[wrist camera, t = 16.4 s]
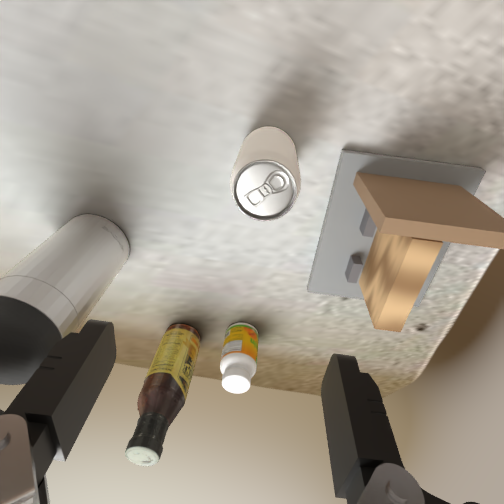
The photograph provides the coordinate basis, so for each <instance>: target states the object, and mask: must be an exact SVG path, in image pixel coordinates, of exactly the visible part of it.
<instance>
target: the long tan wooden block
mask: <svg viewBox="0 0 504 504" xmlns="http://www.w3.org/2000/svg"><path fill="white" fill-rule="evenodd" d="M442 245H443V242H442V241H438V240H430V239H422V238H415V237H407V236H400V235H392V234H384V233H380V232H379V230H378V229H377V231H376V234H375V236H374V239H373V242H372V245H371V248H370V251H369V253H368V256H367V259H366V262H365V265H364V268H363V271H362V273H361V276H360V279H359V285H360V288H361V291H362V294H363V297H364V299H365V302H366V305H367V308H368V311H369V314H370V317H371V320H372V323H373V325H374V328H375V329H381V330H388V331H396V332H401V330H402V328H403V326H404V324H405V321H406V319H407V317H408V315H409V313H410V311H411V309H412V307H413V305H414V303H415V301H416V299H417V297H418V294H419V292H420V290H421V288H422V286H423V284H424V282H425V280H426V278H427V276H428V274H429V272H430V270H431V268H432V265H433V263H434V261H435V259H436V257H437V255H438V253H439V251H440V249H441V247H442Z"/></svg>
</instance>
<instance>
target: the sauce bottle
mask: <svg viewBox="0 0 504 504" xmlns="http://www.w3.org/2000/svg"><path fill="white" fill-rule="evenodd" d="M199 348H200V336H199V334H198V332H197V330H196V329H195V328H193V327H191V326H189V325H185V324H175V325H172V326H170V327H169V328H168V329H167V331H166V332H165V334H164V335H163V337H162V340H161V342H160V345H159V347H158V349H157V352H156V354H155V356H154V359H153V361H152V364H151V366H150V369H149V371H148V373H147V376H146V378H145V381H144V385H143V388H142V390H141V392H140V394H139V398H138V410H139V414H140V418H139V419H138V423H137V427H136V429H135V432H134V435H133V437H132V438H131V440H130V441H129V443H128V446H127V448H126V451H125V453H126V457H127V459H128V460H129V461H131V462H133V463H134V464H137V465H141V466H151V465H154V464H156V463H157V462H158V461H159V459H160V456H161V453H162V450H163V447H162V444H163V442H164V439H165V435H166V432H167V430H168V427H169V426H170V424H171V423H172V422H173V420H174V419H175V417H176V416H177V414H178V413H179V411H180V410H181V408H182V407H183V406H184V404H185V400H186V397H187V393H188V389H189V385H190V382H191V378H192V374H193V371H194V367H195V363H196V359H197V356H198V352H199Z"/></svg>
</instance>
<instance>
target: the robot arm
mask: <svg viewBox="0 0 504 504" xmlns="http://www.w3.org/2000/svg"><path fill="white" fill-rule="evenodd" d="M129 251H130V248H129V243H128V241H127V238H126V236H125V235H124V233H123V232H122V231H121V230H120V229H119V228H118V226H116V225H115V224H114V223H112V222H111V221H109V220H107V219H106V218H103V217H100V216H97V215H91V214H84V215H79V216H76V217H74V218H73V219H71V220H70V221H69V222H67V223H66V224H65V225H64V226H63V227H61V228H60V229H59V230H58V231H57V232H55V233H54V234H53V235H52V236H50V237H49V238H48V239H47V240H46V241H44V242H43V243H42V244H41V245H40V246H38V247H37V248H36V249H35V250H34V251H32V252H31V253H30V254H29V255H27V256H26V257H25V258H24V259H23V260H21V261H20V262H19V263H18V264H17V265H15V266H14V267H13V268H12V269H11V270H9V271H8V272H7V273H6V274H5V275H3V276H2V277H1V278H0V384H5V385H18V384H19V385H20V384H26V385H25V386H24V387H23V388H22V390H21V391H20V392H19V394H18V395H17V396H16V398H15V399H14V400H13V402H12V403H11V405H10V406H9V407H8V408H7V410H6V411H5V412H4V411H2V410H0V504H50V501H49V493H48V487H47V480H46V474H45V473H46V471H47V470H48V468H49V466H50V464H51V462H52V460H58V461H66V459H67V457H68V455H69V453H70V451H71V449H72V447H73V445H74V443H75V441H76V439H77V437H78V435H79V433H80V431H81V429H82V427H83V425H84V423H85V421H86V419H87V418H88V415H89V414H90V412H91V409H92V408H93V406H94V404H95V402H96V400H97V398H98V396H99V394H100V392H101V390H102V388H103V386H104V384H105V382H106V380H107V378H108V376H109V374H110V372H111V370H112V368H113V366H114V363H115V359H116V344H115V335H114V326H113V323H112V322H106V321H99V320H89V321H87V323H86V324H85V325H84V327H83V328H82V330H81V331H80V333H76V332H77V330H78V329H79V327H80V326H81V325H82V323H83V322H84V320H85V319H86V318H87V316H88V315H89V313H90V312H91V311H92V309H93V308H94V306H95V305H96V303H97V302H98V301H99V299H100V298H101V296H102V295H103V294H104V292H105V291H106V289H107V288H108V287H109V285H110V284H111V282H112V281H113V280H114V278H115V277H116V275H117V274H118V273H119V271H120V270H121V268H122V267H123V265H124V264H125V263H126V261H127V260H128V257H129ZM321 397H322V405H323V411H324V419H325V426H326V433H327V440H328V447H329V455H330V461H331V469H332V475H333V483H334V490H335V497H338V498H346V499H347V504H450V503H448V502H446V501H444V500H441V499H439V498H437V497H435V496H433V495H431V494H429V493H428V492H426V491H425V490H423V489H422V488H421V487H420V486H419V484H418V482H417V481H416V480H415V478H414V477H413V476H412V475H411V474H410V473H409V472H408V471H406V470H405V468H404V466H403V463H402V461H401V458H400V455H399V451H398V448H397V445H396V442H395V439H394V435H393V432H392V429H391V426H390V423H389V420H388V417H387V416H386V410H385V407H384V404H383V403H382V402H383V401H382V397H381V394H380V391H379V388H378V386H377V385H376V383H375V382H374V380H373V379H372V378H371V376H370V375H369V374H368V373H361V372H360V370H359V367H358V363H357V360H356V358H355V357H354V356H348V355H341V354H333V355H332V357H331V359H330V362H329V365H328V367H327V370H326V373H325V375H324V378H323V381H322V387H321ZM464 504H478V503H475V502H466V503H464Z"/></svg>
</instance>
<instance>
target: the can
mask: <svg viewBox="0 0 504 504" xmlns="http://www.w3.org/2000/svg"><path fill="white" fill-rule="evenodd" d="M300 187H301V178H300V171H299V165H298V159H297V154H296V149H295V145H294V143H293V141H292V139H291V138H290V137H289V136H288V135H287V134H286V133H285V132H284V131H283V130H281V129H279V128H276V127H271V126H266V127H261V128H258V129H256V130H254V131H252V132H251V133H250V134H249V135H248V136H247V137H246V138H245V140H244V142H243V144H242V146H241V148H240V151H239V154H238V156H237V159H236V162H235V164H234V167H233V170H232V173H231V178H230V189H231V193H232V196H233V198H234V201H235V203H236V205H237V207H238V208H239V209H240V211H241V212H242V213H244V214H245V215H246V216H248V217H250V218H252V219H255V220H259V221H271V220H275V219H278V218H280V217H282V216H283V215H285V214H286V213H287V212H288V211H289V210H290V209H291V208H292V206H293V205H294V203H295V202H296V200H297V198H298V196H299V192H300Z"/></svg>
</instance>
